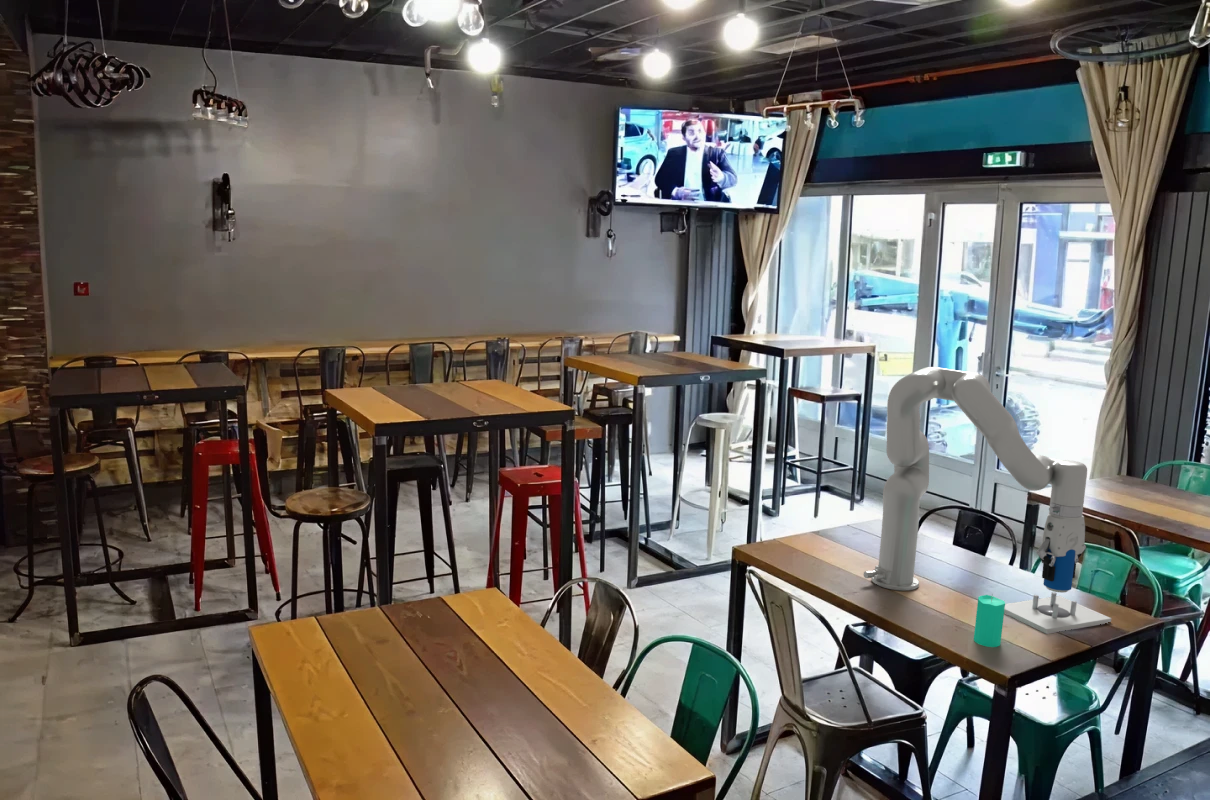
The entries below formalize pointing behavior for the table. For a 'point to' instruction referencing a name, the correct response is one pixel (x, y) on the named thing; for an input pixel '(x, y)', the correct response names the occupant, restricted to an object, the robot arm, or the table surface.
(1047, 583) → the beverage can
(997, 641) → the candle
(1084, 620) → the pin tray
